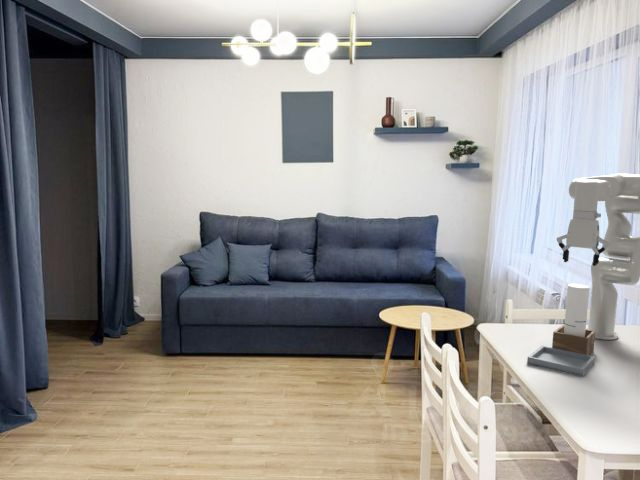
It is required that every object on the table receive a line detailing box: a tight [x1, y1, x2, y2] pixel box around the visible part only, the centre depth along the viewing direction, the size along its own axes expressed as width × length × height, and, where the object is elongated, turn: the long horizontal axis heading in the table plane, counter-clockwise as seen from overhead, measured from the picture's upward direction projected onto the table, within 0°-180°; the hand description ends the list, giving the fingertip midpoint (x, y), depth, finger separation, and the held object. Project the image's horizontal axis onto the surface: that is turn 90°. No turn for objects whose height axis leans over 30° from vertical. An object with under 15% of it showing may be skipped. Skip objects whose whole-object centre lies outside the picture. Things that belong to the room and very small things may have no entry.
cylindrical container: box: [563, 283, 590, 337], centre depth 212 cm, size 7×7×25 cm
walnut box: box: [551, 324, 596, 356], centre depth 213 cm, size 12×12×8 cm
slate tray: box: [526, 345, 596, 378], centre depth 202 cm, size 16×18×2 cm
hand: (580, 263), depth 209 cm, fingers open, 9 cm apart
